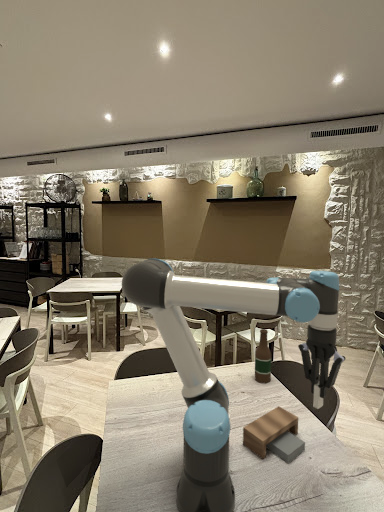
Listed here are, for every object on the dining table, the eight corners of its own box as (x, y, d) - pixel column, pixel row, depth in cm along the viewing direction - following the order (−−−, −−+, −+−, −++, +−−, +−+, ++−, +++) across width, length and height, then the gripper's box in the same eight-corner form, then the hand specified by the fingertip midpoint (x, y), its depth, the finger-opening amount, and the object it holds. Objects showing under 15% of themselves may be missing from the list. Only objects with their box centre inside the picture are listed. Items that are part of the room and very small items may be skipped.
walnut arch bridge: (262, 459, 89) (263, 441, 88) (242, 444, 95) (243, 427, 95) (297, 433, 100) (298, 417, 100) (278, 421, 107) (278, 406, 106)
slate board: (288, 464, 87) (288, 455, 87) (259, 443, 96) (259, 434, 96) (304, 451, 93) (305, 442, 92) (275, 432, 101) (276, 424, 101)
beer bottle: (267, 385, 132) (269, 333, 130) (251, 380, 136) (252, 330, 134) (273, 378, 138) (274, 329, 136) (257, 373, 142) (258, 326, 140)
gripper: (352, 329, 79) (347, 412, 81) (307, 318, 89) (304, 391, 91) (339, 335, 74) (334, 423, 76) (293, 322, 84) (290, 400, 86)
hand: (318, 406), depth 84 cm, fingers closed
